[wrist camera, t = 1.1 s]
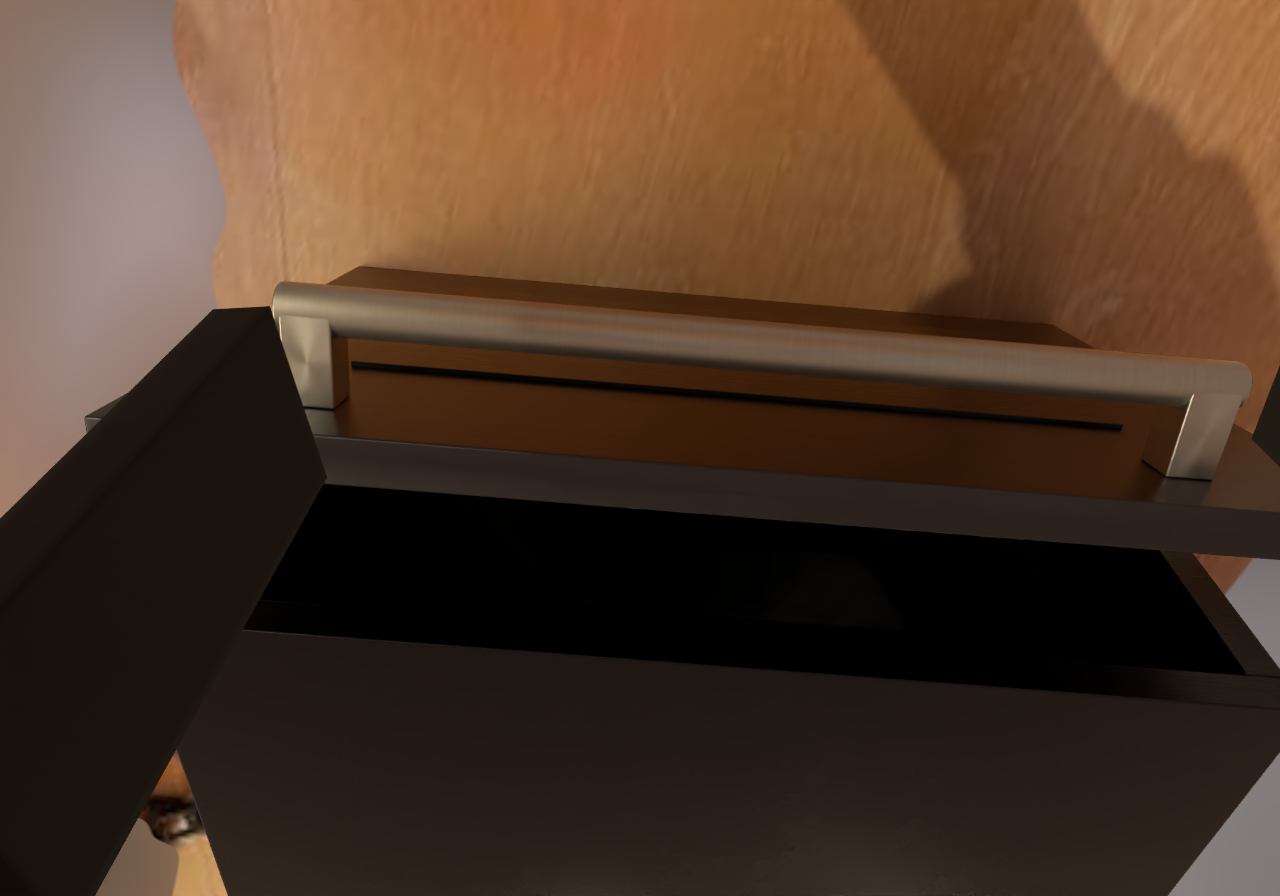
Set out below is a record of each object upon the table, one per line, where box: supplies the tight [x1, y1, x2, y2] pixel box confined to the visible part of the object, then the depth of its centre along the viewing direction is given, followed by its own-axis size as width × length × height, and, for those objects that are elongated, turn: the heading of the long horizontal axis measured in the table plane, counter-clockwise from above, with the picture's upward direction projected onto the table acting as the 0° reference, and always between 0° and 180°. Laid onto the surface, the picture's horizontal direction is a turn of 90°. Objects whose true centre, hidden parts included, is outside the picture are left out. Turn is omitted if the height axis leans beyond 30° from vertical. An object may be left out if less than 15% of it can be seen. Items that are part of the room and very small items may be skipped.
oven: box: [176, 484, 1280, 896], centre depth 49 cm, size 32×40×26 cm
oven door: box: [85, 266, 1280, 560], centre depth 37 cm, size 5×40×26 cm, turn 85°
